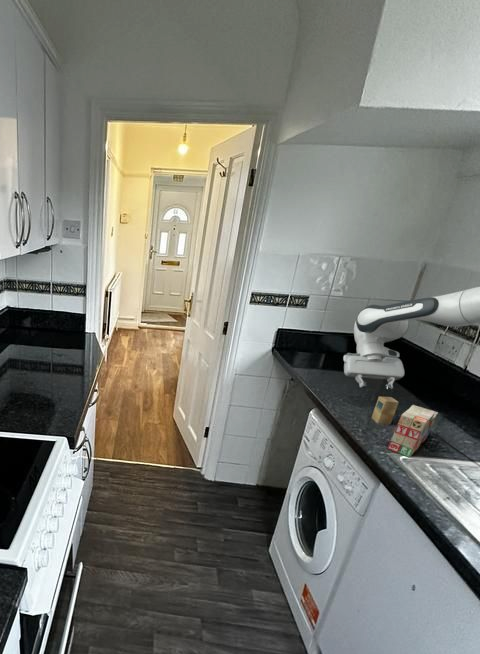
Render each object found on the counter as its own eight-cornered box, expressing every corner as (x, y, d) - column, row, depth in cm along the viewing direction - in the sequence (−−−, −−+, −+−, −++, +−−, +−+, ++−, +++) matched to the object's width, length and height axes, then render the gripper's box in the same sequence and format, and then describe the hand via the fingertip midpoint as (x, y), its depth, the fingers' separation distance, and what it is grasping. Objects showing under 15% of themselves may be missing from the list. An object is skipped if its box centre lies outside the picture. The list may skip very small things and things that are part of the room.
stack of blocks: (406, 429, 143) (420, 397, 138) (427, 437, 139) (443, 404, 134) (386, 448, 130) (401, 414, 125) (409, 457, 126) (426, 422, 120)
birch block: (383, 419, 150) (391, 397, 147) (390, 425, 146) (399, 402, 143) (370, 418, 151) (378, 396, 147) (377, 424, 147) (385, 401, 143)
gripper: (347, 348, 155) (352, 382, 150) (403, 352, 154) (410, 386, 149) (338, 356, 161) (342, 389, 156) (392, 360, 160) (398, 393, 155)
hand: (376, 388), depth 153 cm, fingers open, 8 cm apart
